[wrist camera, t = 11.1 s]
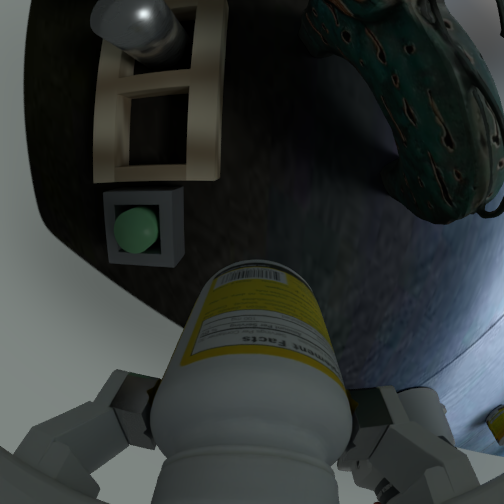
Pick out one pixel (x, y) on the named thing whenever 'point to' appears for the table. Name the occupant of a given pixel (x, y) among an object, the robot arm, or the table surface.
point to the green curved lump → (422, 99)
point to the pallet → (158, 84)
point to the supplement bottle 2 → (497, 424)
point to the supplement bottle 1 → (251, 396)
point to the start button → (137, 228)
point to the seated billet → (143, 31)
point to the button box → (170, 224)
